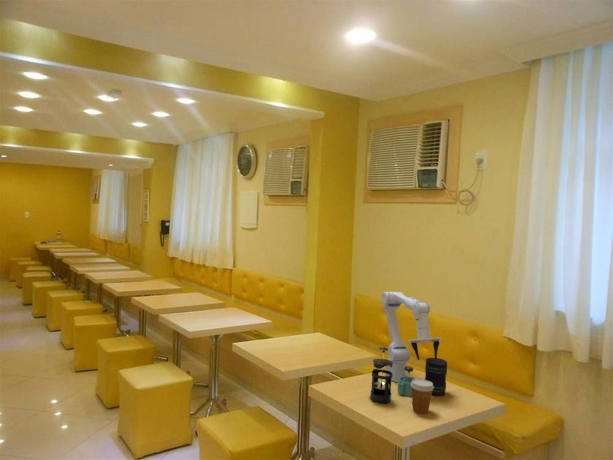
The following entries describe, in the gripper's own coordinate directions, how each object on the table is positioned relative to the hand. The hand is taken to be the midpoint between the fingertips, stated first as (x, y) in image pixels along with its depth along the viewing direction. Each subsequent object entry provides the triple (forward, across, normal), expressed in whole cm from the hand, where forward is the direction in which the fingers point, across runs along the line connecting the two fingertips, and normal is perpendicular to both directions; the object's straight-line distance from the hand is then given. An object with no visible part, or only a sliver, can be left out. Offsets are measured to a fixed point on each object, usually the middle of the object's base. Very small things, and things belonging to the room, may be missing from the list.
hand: (427, 359), depth 207 cm
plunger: (+11, -10, +7) cm, 17 cm away
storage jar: (+15, +2, +13) cm, 20 cm away
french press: (+16, -23, -4) cm, 28 cm away
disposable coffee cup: (+21, -6, -10) cm, 24 cm away
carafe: (+14, -10, +8) cm, 19 cm away
